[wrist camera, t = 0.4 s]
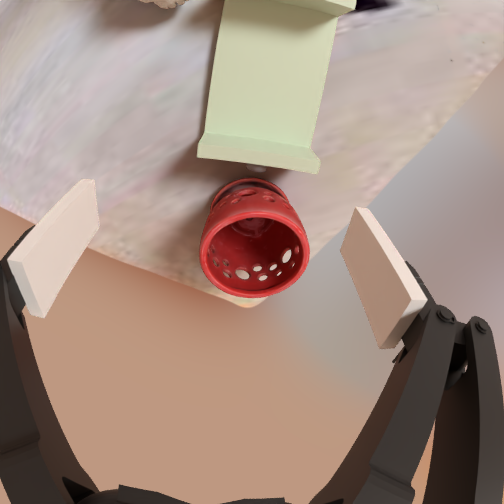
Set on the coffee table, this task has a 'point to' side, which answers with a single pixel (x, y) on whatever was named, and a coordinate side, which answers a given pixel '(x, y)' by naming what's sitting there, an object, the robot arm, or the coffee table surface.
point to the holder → (269, 82)
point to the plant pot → (253, 239)
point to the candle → (165, 3)
